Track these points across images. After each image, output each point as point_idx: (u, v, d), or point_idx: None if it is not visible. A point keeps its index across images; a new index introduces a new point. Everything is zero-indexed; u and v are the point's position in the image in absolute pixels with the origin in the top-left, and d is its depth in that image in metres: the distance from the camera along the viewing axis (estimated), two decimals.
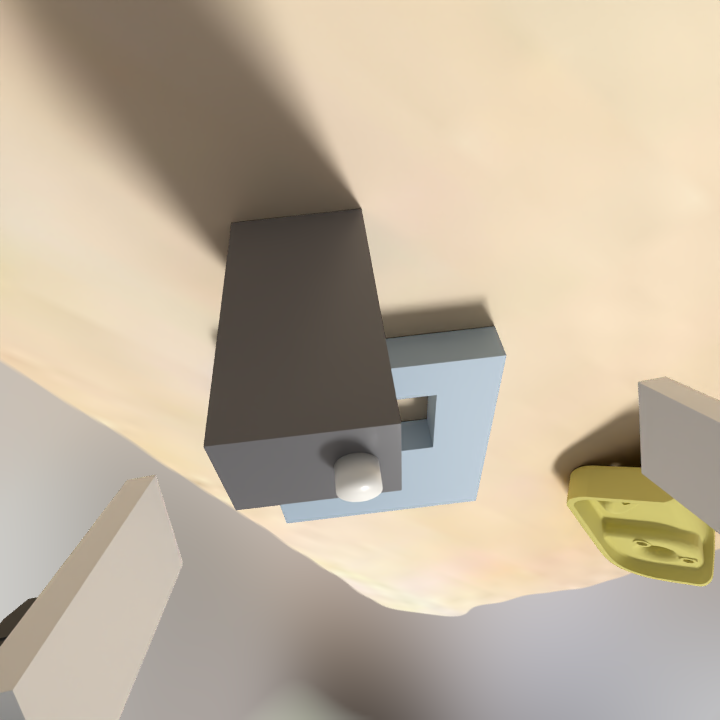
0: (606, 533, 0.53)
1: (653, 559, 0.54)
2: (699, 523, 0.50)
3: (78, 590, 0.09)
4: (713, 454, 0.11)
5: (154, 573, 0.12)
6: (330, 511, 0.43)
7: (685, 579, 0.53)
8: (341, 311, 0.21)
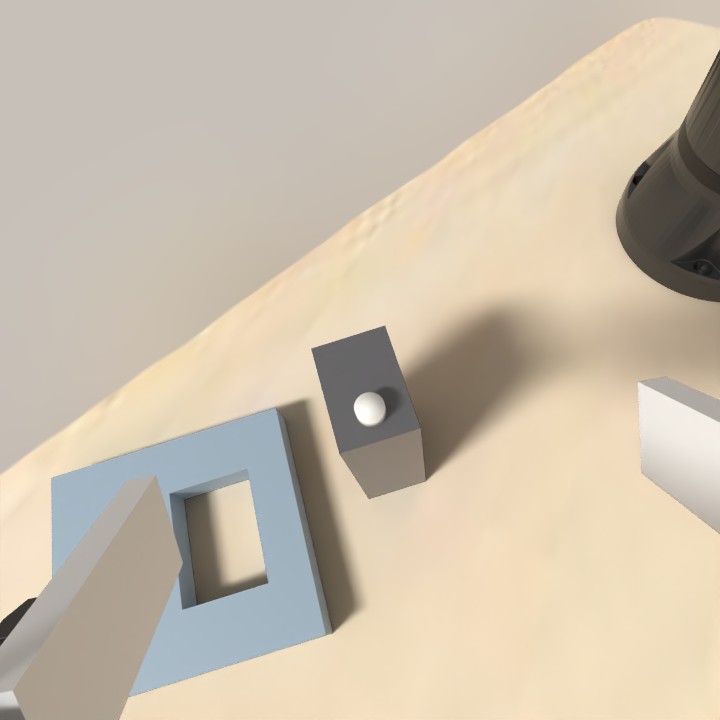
0: None
1: None
2: None
3: (78, 590, 0.09)
4: (713, 454, 0.11)
5: (154, 573, 0.12)
6: (66, 523, 0.38)
7: None
8: None
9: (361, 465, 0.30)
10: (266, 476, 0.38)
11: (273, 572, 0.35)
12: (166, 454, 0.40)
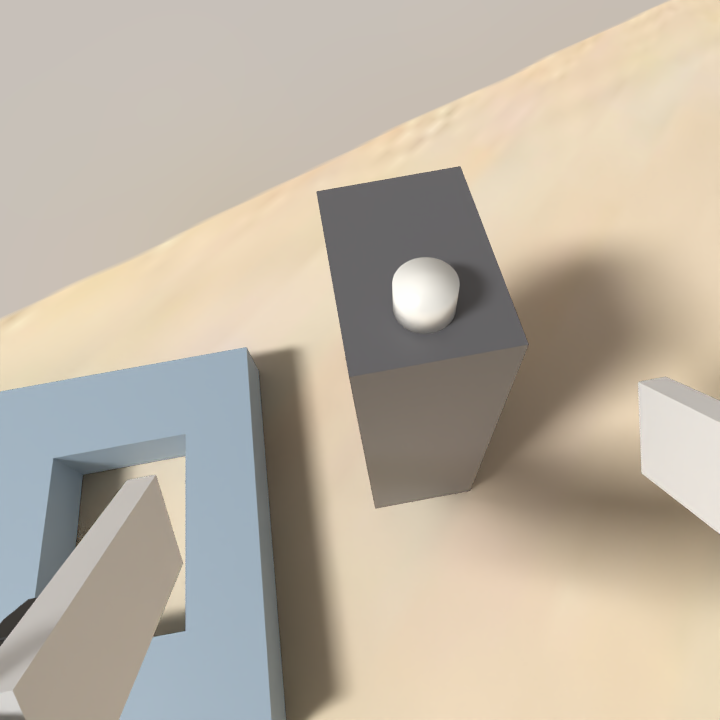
0: None
1: None
2: None
3: (78, 590, 0.09)
4: (714, 454, 0.11)
5: (154, 573, 0.12)
6: None
7: None
8: None
9: (383, 426, 0.16)
10: (213, 448, 0.23)
11: (197, 612, 0.20)
12: (63, 398, 0.25)
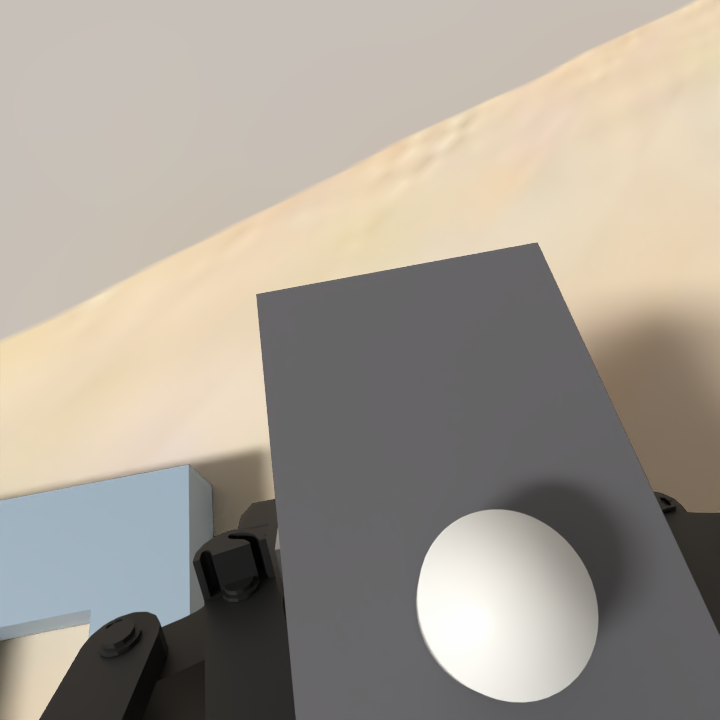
0: None
1: None
2: None
3: None
4: None
5: None
6: None
7: None
8: None
9: None
10: None
11: None
12: None
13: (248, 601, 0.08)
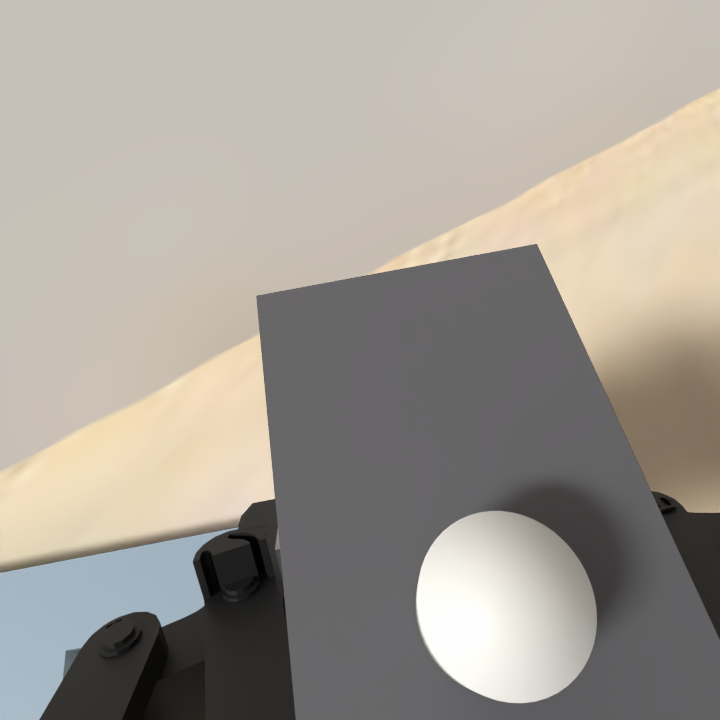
0: None
1: None
2: None
3: None
4: None
5: None
6: None
7: None
8: None
9: None
10: None
11: None
12: (75, 579, 0.25)
13: (248, 601, 0.08)
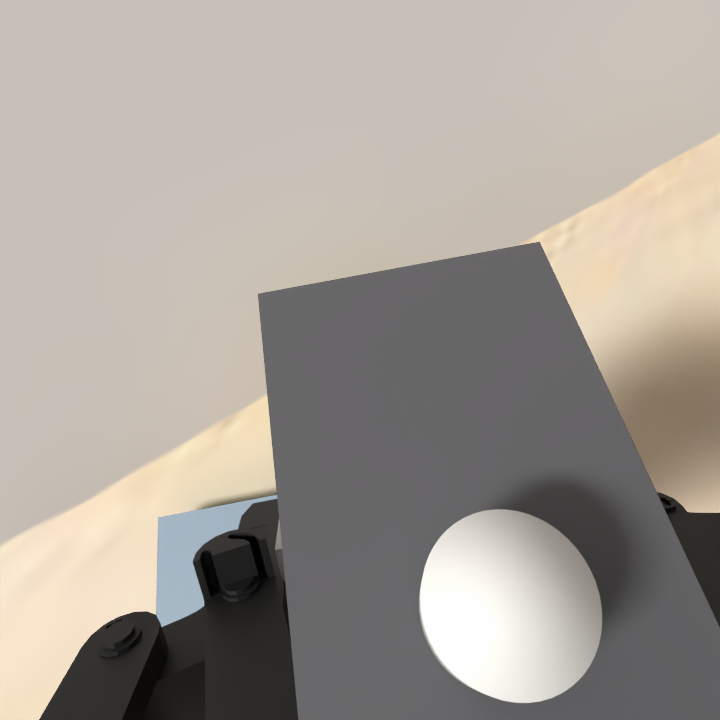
0: None
1: None
2: None
3: None
4: None
5: None
6: (176, 581, 0.30)
7: None
8: None
9: None
10: None
11: None
12: None
13: (248, 601, 0.08)
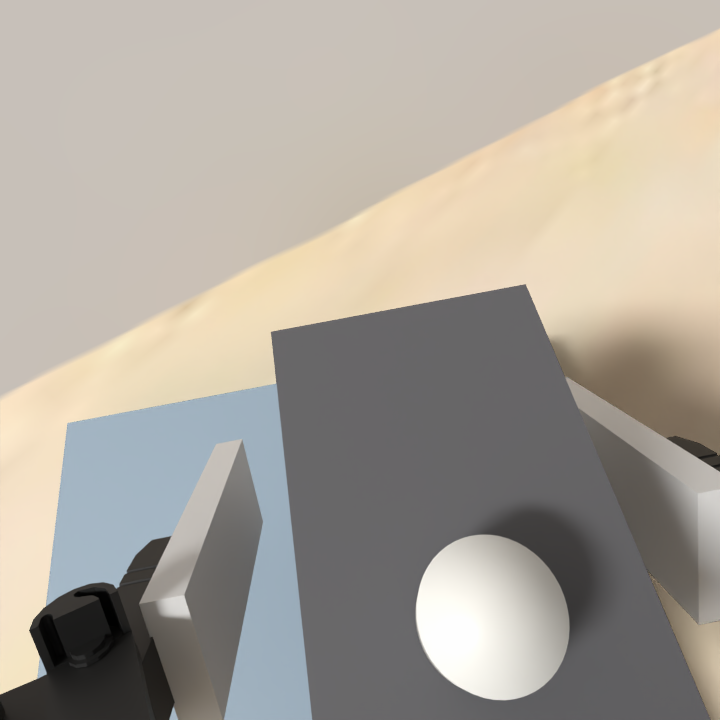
0: None
1: None
2: None
3: (208, 526, 0.11)
4: None
5: (248, 525, 0.14)
6: (87, 517, 0.18)
7: None
8: None
9: None
10: None
11: None
12: None
13: (99, 663, 0.08)
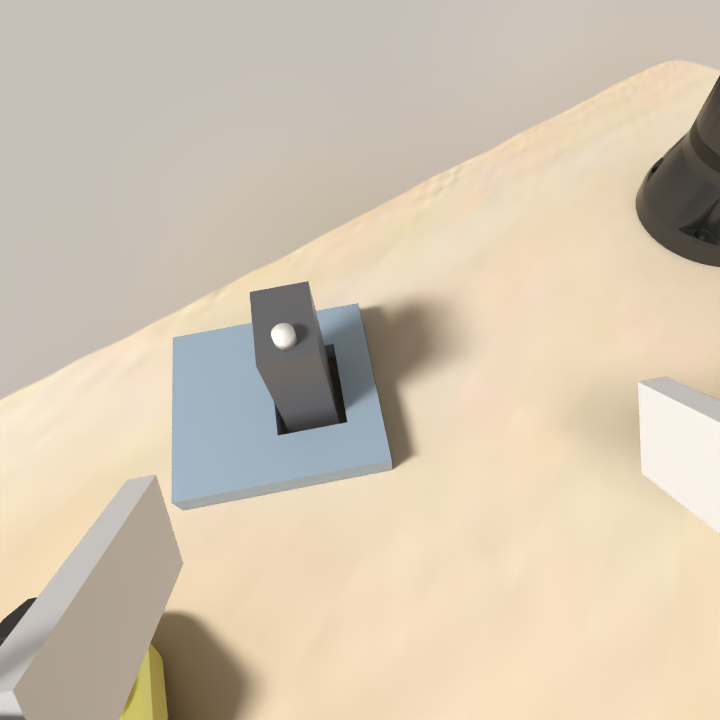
0: None
1: None
2: None
3: (78, 590, 0.09)
4: (714, 454, 0.11)
5: (154, 573, 0.12)
6: (184, 369, 0.48)
7: None
8: (327, 373, 0.41)
9: (277, 386, 0.39)
10: (348, 349, 0.48)
11: (351, 415, 0.45)
12: None
13: None
